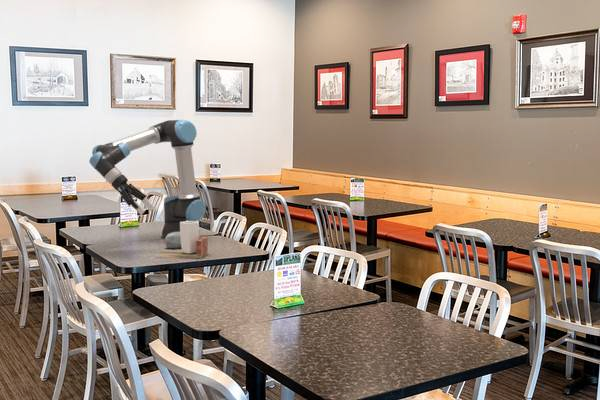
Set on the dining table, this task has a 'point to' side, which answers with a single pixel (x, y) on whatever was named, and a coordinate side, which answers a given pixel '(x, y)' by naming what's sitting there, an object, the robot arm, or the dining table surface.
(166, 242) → the grey stone
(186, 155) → the robot arm
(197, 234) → the cup
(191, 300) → the dining table surface
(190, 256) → the board
